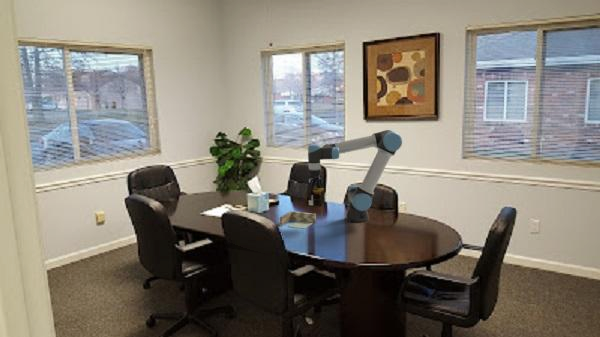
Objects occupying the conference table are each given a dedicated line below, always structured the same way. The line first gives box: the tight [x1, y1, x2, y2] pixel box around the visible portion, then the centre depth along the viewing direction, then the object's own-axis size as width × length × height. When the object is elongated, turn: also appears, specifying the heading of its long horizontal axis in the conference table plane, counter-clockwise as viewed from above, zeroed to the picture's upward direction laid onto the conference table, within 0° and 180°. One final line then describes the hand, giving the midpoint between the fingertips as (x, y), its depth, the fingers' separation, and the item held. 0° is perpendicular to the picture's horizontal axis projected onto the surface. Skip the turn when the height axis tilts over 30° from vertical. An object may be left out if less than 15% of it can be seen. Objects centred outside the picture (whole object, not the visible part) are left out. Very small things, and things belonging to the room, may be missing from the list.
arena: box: [279, 210, 317, 227], centre depth 299 cm, size 19×15×6 cm
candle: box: [305, 187, 326, 208], centre depth 289 cm, size 10×10×10 cm
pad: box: [287, 221, 314, 230], centre depth 298 cm, size 12×12×1 cm
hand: (315, 202), depth 289 cm, fingers closed on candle, 11 cm apart
